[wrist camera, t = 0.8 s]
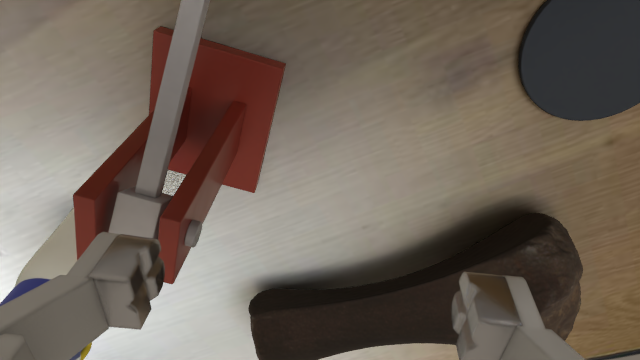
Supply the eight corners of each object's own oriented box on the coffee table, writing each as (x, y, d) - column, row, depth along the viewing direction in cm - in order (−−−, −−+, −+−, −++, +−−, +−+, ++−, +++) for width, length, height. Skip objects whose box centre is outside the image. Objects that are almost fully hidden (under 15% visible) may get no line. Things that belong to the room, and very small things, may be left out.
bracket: (160, 25, 30) (19, 119, 18) (286, 63, 31) (233, 178, 19) (151, 156, 36) (42, 292, 24) (257, 185, 37) (203, 332, 25)
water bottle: (180, 251, 42) (1, 602, 22) (100, 257, 44) (-141, 591, 23) (149, 181, 38) (-114, 537, 17) (60, 189, 39) (-282, 528, 18)
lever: (168, -69, 22) (152, -92, 20) (263, -39, 23) (259, -58, 20) (98, 227, 24) (76, 238, 22) (187, 250, 24) (176, 264, 22)
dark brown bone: (556, 198, 38) (278, 254, 49) (577, 228, 28) (224, 289, 39) (588, 319, 38) (305, 347, 49) (620, 390, 28) (258, 405, 39)
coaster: (513, -10, 27) (516, -8, 27) (700, -62, 25) (707, -61, 24) (521, 130, 32) (524, 134, 32) (677, 98, 30) (682, 102, 29)
